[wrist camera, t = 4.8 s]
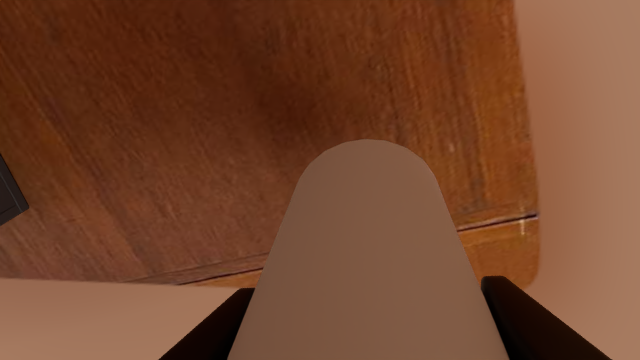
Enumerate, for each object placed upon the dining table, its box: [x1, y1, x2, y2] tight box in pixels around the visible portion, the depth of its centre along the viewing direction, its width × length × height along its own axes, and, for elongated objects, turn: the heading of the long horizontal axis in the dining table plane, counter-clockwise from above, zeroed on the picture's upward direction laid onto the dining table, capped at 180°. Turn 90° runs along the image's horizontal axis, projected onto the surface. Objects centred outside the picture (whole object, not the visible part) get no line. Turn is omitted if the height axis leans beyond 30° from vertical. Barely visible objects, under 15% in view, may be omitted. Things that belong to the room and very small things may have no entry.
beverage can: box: [227, 139, 510, 360], centre depth 7 cm, size 5×5×12 cm
